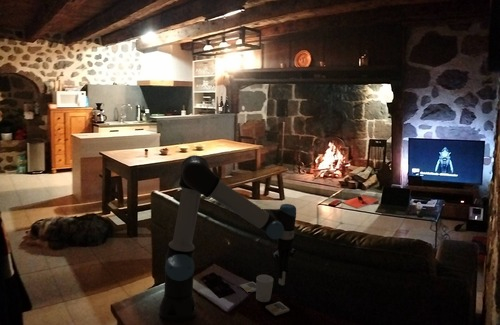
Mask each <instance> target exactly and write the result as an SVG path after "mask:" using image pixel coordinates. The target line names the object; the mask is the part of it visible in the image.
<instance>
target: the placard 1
mask: <svg viewBox="0 0 500 325" xmlns="http://www.w3.org/2000/svg"><path fill="white" fill-rule="evenodd" d="M239 286H240V287H241V288H243V289H244V290H245V291H246V292H247V293H248V292H251V293H253V292H254V293H256V282H254V281H250V282H245V283H241V284H239ZM239 286H238V287H239ZM240 287H239V288H240ZM241 288H240V289H241ZM244 290H243V291H244ZM245 291H244V292H245ZM246 292H245V293H246ZM247 293H246V294H247ZM248 294H249V293H248Z"/></svg>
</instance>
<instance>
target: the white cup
mask: <svg viewBox="0 0 500 325" xmlns="http://www.w3.org/2000/svg"><path fill="white" fill-rule="evenodd" d="M255 281H256V282H255V284H256V291H255V299H256V300H257V301H258V302H259V303H260V302H261V303H267V302H270V301H271V297H272V292H273V285H274V278H273V276H271V275H269V274H259V275H257V276H256V280H255Z"/></svg>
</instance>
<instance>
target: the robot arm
mask: <svg viewBox="0 0 500 325" xmlns="http://www.w3.org/2000/svg"><path fill="white" fill-rule="evenodd" d="M180 169H181V172H180V177H179V184H178V186H179V187H180V188H181V193H180V197H179V204H178V209H177V215H176V221H175V227H174V231H173V238H172V240H171V241H169V242H168V245H167V252H166V253H165V265H164V271H165V272H164V273H165V274H164V295H163V298H162V300H161V301H160V305H159V306H158V307H159V308H158V309H159V310H158V313H159V316H160V318H162V319H163V320H165V321H167V322H168V321H169V322H172V323H173V322H174V323H180V322H185V321H188V320H191V319H192V318H193V317H194V316H195V315H196V312H197V311H196V307H197V306H196V302H195V300H194V296H193V291H194V290H193V288H194V273H195V262H194V260H193V258H194V253H195V250H196V249H195V247H196V246H195V245H194V243H193V241H194V234H195V229H196V223H197V218H198V215H199V214H198V213H199V209H200V208H199V207H200V203H201V198H202V196H204V197H205V198H207V199H208V198H211V199H213V200H214V201H216V202H218V203H219V204H220V205H222V206H224V207H225V208H227V209H228V210H230V211H231V212H233V213H234V214H236V215H237V216H239V217H241V218H242V219H244V220H245V221H247V222H249V223H250V224H251V225H254V226H255V227H256V228H258V229H259V230H261V231H263V233H265V234H266V235H267V237H269V238H270V239H271V240H277V241H276V245H277V248H276V251H275V252H272V254H271V255H272V257H273V262H274V270H275V271H277V273H278V274H277V275H278V276H277V278H278V284H279V285H281V286H285V282H286V278H287V273H288V272H289V269H288V258H289V256H291V257H292V256H293V255H294V256H295V254H296V252H297V250H296V249H295V248H293V246H294V240H295V239H294V237H295V229H296V227H295V226H296V221H297V220H296V218H297V207H296V206H295V205H294V204H291V203H282V204H281V205H280V207H279V208H276V209H275V208H261V207H260V206H258V205H257V204H255V203H254V202H252V201H251V200H250V199H248V198H247V197H245V196H243V195H242V194H241V193H239V192H238V191H236V190H235V189H233V188H231V187H230V186H229V185H227V184H225V183H224V182H222V180H221V177H219V176H218V175H217V174H215V172H214V171H212V170H211V168H210V166H209V163H208V161H207V159H205V158H203V157H202V156H200V155H189V156H187V157H186V158H185V159H184V160H183V161H182V164H181V167H180ZM287 269H288V270H287Z"/></svg>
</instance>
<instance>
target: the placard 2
mask: <svg viewBox="0 0 500 325" xmlns="http://www.w3.org/2000/svg"><path fill="white" fill-rule="evenodd" d="M265 309H266V310H267V311H268V312H270V313H271V314H272V315H274V316H280V315H282V314H285V313H288V312H290V311H291V310H290V308H289V307H288V306H286V305H285V304H284V303H282V302H281V301H277V302H275V303H274V302H273V303H270V304H267V305H265Z"/></svg>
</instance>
